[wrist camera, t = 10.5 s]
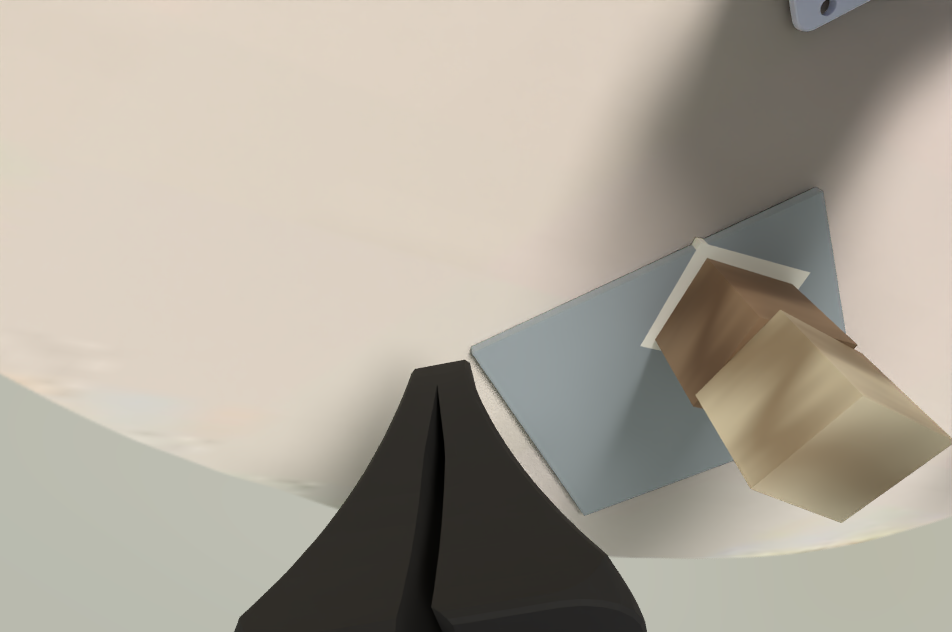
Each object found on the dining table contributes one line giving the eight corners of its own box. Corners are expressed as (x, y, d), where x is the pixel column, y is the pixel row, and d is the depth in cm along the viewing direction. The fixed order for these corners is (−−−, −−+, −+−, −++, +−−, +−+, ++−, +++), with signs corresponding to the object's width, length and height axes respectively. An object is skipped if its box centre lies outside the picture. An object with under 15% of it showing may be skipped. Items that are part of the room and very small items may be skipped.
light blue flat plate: (814, 181, 22) (822, 186, 22) (852, 407, 30) (858, 414, 29) (468, 343, 26) (469, 349, 25) (582, 508, 33) (584, 515, 33)
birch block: (780, 309, 19) (863, 395, 16) (861, 353, 21) (955, 441, 17) (695, 394, 21) (750, 489, 18) (774, 429, 23) (841, 523, 19)
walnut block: (707, 257, 23) (759, 317, 20) (792, 284, 24) (857, 344, 21) (655, 339, 26) (693, 406, 22) (734, 360, 27) (784, 427, 23)
